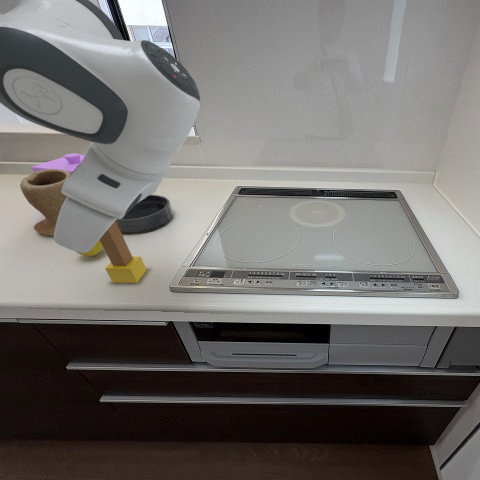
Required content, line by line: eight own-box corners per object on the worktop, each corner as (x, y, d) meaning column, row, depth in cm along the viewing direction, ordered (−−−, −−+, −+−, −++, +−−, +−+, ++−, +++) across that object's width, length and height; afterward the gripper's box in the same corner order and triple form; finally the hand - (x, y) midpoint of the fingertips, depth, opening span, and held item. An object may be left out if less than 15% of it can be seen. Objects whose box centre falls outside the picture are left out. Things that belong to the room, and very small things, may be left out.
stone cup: (66, 242, 66) (31, 186, 57) (29, 234, 68) (-10, 179, 60) (118, 214, 78) (95, 164, 70) (85, 208, 80) (60, 159, 72)
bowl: (99, 234, 69) (92, 219, 67) (132, 207, 82) (126, 194, 79) (158, 235, 70) (153, 220, 68) (181, 208, 83) (178, 195, 80)
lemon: (75, 258, 61) (56, 229, 57) (100, 246, 65) (85, 218, 61) (88, 265, 59) (70, 236, 55) (114, 252, 63) (99, 224, 59)
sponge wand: (112, 282, 55) (81, 226, 47) (123, 270, 59) (96, 215, 51) (137, 283, 56) (109, 226, 48) (147, 270, 59) (122, 215, 51)
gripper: (135, 125, 43) (109, 182, 50) (52, 191, 28) (30, 262, 34) (174, 149, 46) (145, 200, 53) (118, 220, 31) (86, 280, 38)
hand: (99, 225), depth 44 cm, fingers open, 8 cm apart
